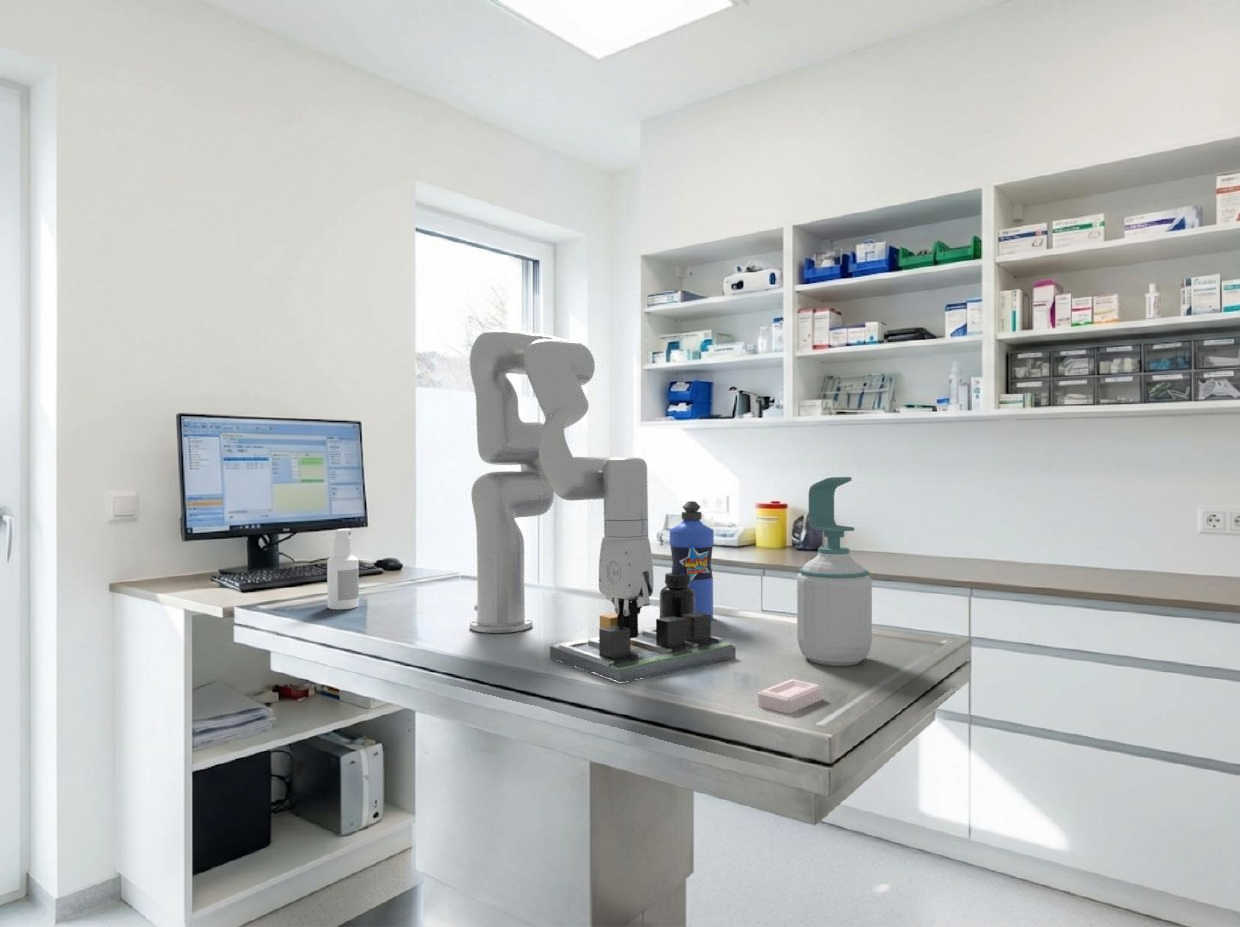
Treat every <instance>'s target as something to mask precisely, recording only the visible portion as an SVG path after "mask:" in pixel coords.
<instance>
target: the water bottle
mask: <svg viewBox="0 0 1240 927" xmlns="http://www.w3.org/2000/svg"><path fill="white" fill-rule="evenodd" d="M682 508H683V510H684V511H681V520H682V521H681V523H679V524H677V525H675V526H673V527H672V528H670V529H669V545H670V553H671V559H672V561H671V562H672V565H671V573H688V574H690V584H689V587H690V588H692V589H693V590H694V592H695V612H702V613H706V614H711V622H712V621H713V620H714V576H713V571H712V570H713V569H712V558H713V556H712V555H713V548H714V540H715V538H714V532H715V531H714V529H713V528H711V527H709V526H708V525H705V524H704V523H703V522H702V521H701V520H702V511H699V510H700V509H701V505H699V503H698V502H696V501H695V500H692V501H691V500H690V501H686V503H685V504H684V505H683V506H682Z"/></svg>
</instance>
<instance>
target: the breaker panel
mask: <svg viewBox="0 0 1240 927" xmlns="http://www.w3.org/2000/svg"><path fill="white" fill-rule="evenodd" d="M598 629H599V630H598V632H599V634H598V635H599V636H596V637H592V638H591V637H590V638H585V639H579V640H573V641H568V642H563V643H561V642H560V643H556V644H555V643H554V644H551V646H549V658H550V659H551V660H555V661H557V660H559V661H558V662H560V661H562V662H564V663H563V664H565V663H566V665H568V664H569V665H568V666H570V665H572V667H573V666H576V667H578V668H577V669H579V668H581V669H584V670H587V671H589V672H595V673H597V674H599V675H602V676H604V677H607V678H611V679H613V680H616V681H618V682H626V681H631V680H635V679H640V678H645V679H648V678H652V677H657V676H663V675H665V674H671V673H674V672H675V673H676V672H680V671H685V670H689V669H693V668H694V669H695V668H696V667H697V668H698V667H702V666H706V665H711V664H716V663H719V662H725V661H729V660H733V659H736V657H737V656H736V655H737V654H736V645H735V646H734V644H733V643H731V642H725V641H724V638H723V637H722V638H721V637H718V636H713V635H712V621H711V614H706V613H702V612H695V613H690V614H684V615H682V618H679V617H675V616H672V617H666V618H660V617H659V618H656V619H655V626H654V627H648V628H643V629H638V637H636V638H630V628H627V627H623V626H619V625H618V626H612V627H606V628H600V627H599V628H598ZM562 662H561V663H562ZM576 667H575V668H576ZM581 669H580V670H581ZM584 670H583V671H584ZM587 671H586V672H587ZM589 672H588V673H589ZM640 680H641V679H640ZM631 682H632V681H631Z"/></svg>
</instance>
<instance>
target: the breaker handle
mask: <svg viewBox="0 0 1240 927" xmlns="http://www.w3.org/2000/svg"><path fill="white" fill-rule="evenodd" d="M617 615H619V614H616V613H615V612H613V613H608V614H607V613H606V614H601V615H599V629H600V628H606V627H612V626H618V623H617Z"/></svg>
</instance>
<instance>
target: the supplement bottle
mask: <svg viewBox="0 0 1240 927" xmlns="http://www.w3.org/2000/svg"><path fill="white" fill-rule="evenodd" d="M664 577H665V578H664V584H665V586H664V587H663V588H662V589H661V590H660V592H659V619H660V618H666V617H672V616H675V617H679V618H682V615H684V614H690V613H695V592H694V590H693V589H692V588H690V587H689V584H690V574H688V573H672V572H667V573H665V574H664Z"/></svg>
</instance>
